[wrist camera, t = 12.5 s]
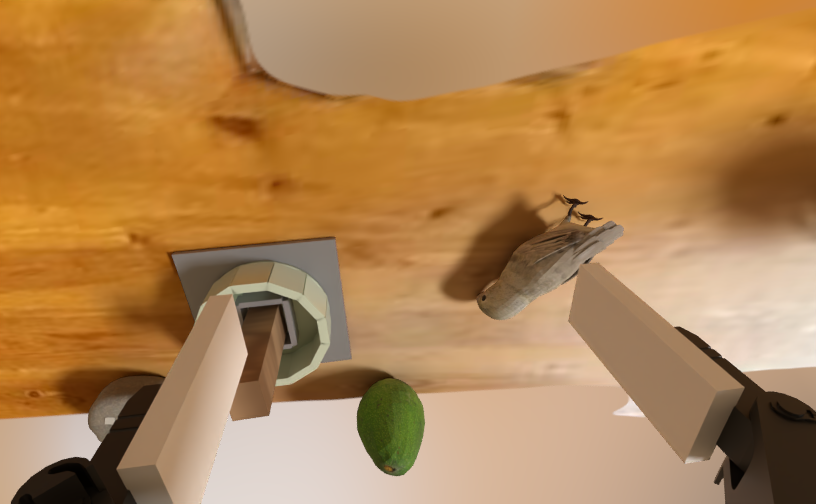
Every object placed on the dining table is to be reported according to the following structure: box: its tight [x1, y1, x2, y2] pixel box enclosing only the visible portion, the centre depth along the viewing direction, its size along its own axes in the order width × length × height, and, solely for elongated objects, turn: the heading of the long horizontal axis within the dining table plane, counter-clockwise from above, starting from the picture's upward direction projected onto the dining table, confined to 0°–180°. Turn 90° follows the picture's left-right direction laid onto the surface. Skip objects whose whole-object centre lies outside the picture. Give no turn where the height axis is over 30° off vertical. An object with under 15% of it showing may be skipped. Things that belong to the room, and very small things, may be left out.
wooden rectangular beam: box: [230, 304, 287, 421], centre depth 39 cm, size 3×4×12 cm
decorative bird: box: [477, 195, 624, 320], centre depth 43 cm, size 5×16×8 cm, turn 137°
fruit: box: [357, 378, 425, 476], centre depth 47 cm, size 8×8×12 cm
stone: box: [88, 376, 165, 442], centre depth 46 cm, size 9×9×10 cm
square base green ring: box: [172, 237, 352, 386], centre depth 43 cm, size 16×16×5 cm
